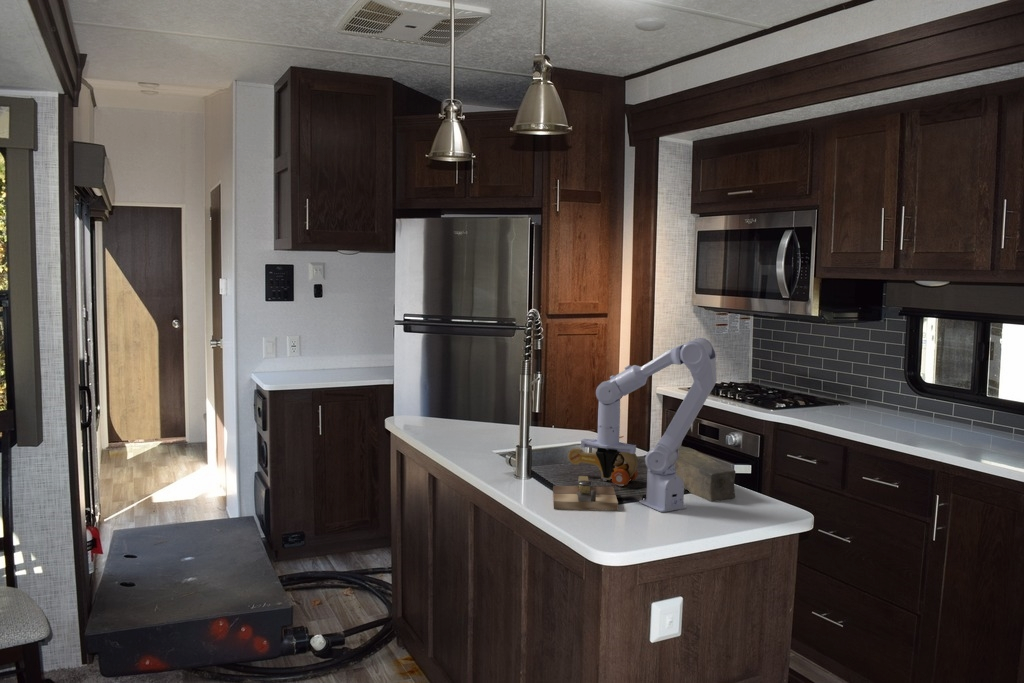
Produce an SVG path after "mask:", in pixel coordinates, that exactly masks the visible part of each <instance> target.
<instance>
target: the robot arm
mask: <svg viewBox="0 0 1024 683" xmlns="http://www.w3.org/2000/svg"><path fill="white" fill-rule="evenodd" d="M716 360H717V353H716V350H715V348H714V346H713V345H712V342H710V340H708V339H706V338H704V337H700V338H699V337H697V338H695V339H694V340H690V341H688V342H685V343H682V344H680V345H678V346H674V347H673V348H671V349H669V350H666V351H664V352H663V353H661V354H660V355H657V356H656V357H654V359H652V360H650V361H648V362H647V363H645V364H644V365H642V366H640V365H637V364H634V365H630V364H629V365H627V366H626V367H624V370H622V371H620V372H619V373H617V374H616V375H614V374H613V375H611V376H609V379H608V380H606V381H605V380H604V381H602V382H601V383H600V384H599V385H598V386H597V387H596V390H595V397H596V399H597V401H598V409H597V435H596V436H597V439H594V438H593V439H591V438H590V439H589V438H588V439H587V438H583V439H581V440H580V447H581V448H587V449H589V448H591V449H596V451H595V453H596V456H597V457H598V459H599V462H600V464H601V467H602V471H603V477H604V478H609V477H611V473H612V469H613V466H614V463H615V461H616V459H617V457H618V455H619V454H620V452H627V453H630V454H634V453H635V454H636V452H637V451H636V450H637V445H636V444H630V443H627V442H626V443H625V442H623V441H622V442H621V441H620V438H619V437H620V432H621V431H620V430H621V429H620V428H621V427H620V425H621V400H622V398H623V397H625V396H628V395H629V394H631V393H632V392H634V391H636V390H639V389H640V388H641V387H644V386H645V385H646V384H647V381H648V378H649V377H650V376H652V375H654V374H656V373H658V372H660V371H662V370H663V369H667V368H668V367H670V366H671V365H677V366H679V365H680V366H681V365H683V364H684V365H685V367H686V368H687V369H688V370H689V371H690V375H691V377H692V379H693V383H692V384H691V386H690V388H689V390H688V391H687V393H686V395H685V397H684V398H683V401H682V402H681V404H680V405H679V407H678V409H677V410H676V412H675V414H674V415H673V418H672V419H671V421H670V423H669V425H668V426H667V428H666V430H665V431H664V433H663V435H662V436H661V437H660V439H659V440H658V441H657V443H656V445H655V446H654V447H653V448H652V449H650V450H649V451H648V452H647V453H646V454H645V458H644V463H645V466H646V496H645V499H641V500H640V499H639V501H638V502H639V504H642V505H644V506H646V507H649V508H651V509H653V510H655V511H658V512H659V513H665V512H666V513H667V512H672V511H677V510H683V509H686V508H687V505H684V500H685V498H684V494H685V490H684V483H683V481H682V479H681V478H679V477H678V476H677V474H676V469H675V466H674V463H675V462H676V461H677V459H678V451H679V448H680V447H682V443H683V440H684V439H685V437H686V435H687V434H688V432H689V429H690V428H691V427H692V425H693V423H694V422H695V420H696V418H697V416H698V415H699V412H700V410H701V409H702V408H703V406H704V404H705V403H706V401H707V399H708V397H709V396H710V393H711V392H712V391H713V389H714V387H715V385H716V383H717V364H716V362H717V361H716Z"/></svg>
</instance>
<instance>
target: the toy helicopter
mask: <svg viewBox="0 0 1024 683" xmlns="http://www.w3.org/2000/svg"><path fill="white" fill-rule="evenodd" d="M622 438H624V435H622V436H621V435H620V436H619V439H622ZM567 458H568V461H569V463H571V464H572V465H573V466H580V465H581V464H585V465H586V464H587V465H592V466H596V467H597V468H598V470H599V471H600V472H601V475H600V476H601V479H602V478H604V477H603V471H602V467H601V464H600V462H599V459H598V457H597V456H596V452H595V453H594V452H585V451H584V450H583V449H581V448H579V447H575V448H571V449H570V450H569V451H568V454H567ZM638 461H639V460H638V456H637V454H636V452H635V453H634V454H630V453H627V452H620V453H619V455H618V457H617V459H616V461H615V463H614V466H613V469H612V473H611V477H609V478H606V479H612V480H611V482H612V484H614V483H617V484H624V485H626V484H627V485H628V484H629V483H630V482H629V480H630V479H631V480H633V481H635V480H636V479H637V477H638V470H637V469H638V466H639V462H638ZM634 479H635V480H634ZM627 485H626V486H627Z"/></svg>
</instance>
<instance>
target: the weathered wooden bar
mask: <svg viewBox="0 0 1024 683" xmlns="http://www.w3.org/2000/svg"><path fill="white" fill-rule="evenodd" d="M674 466H675V469H676V474H677V476H678V477H679V478H681V479H682V481H683V483H684V488H685V489H687V490H688V491H689V492H688V493H690V494H692V495H695V496H697V497H699V498H701V499H702V500H703V499H704V500H706V501H709V502H710V503H713V502H717V501H722V500H727V499H728V500H730V499H731V500H732V499H734V498H735V497H736V491H735V490H736V489H735V479H736V478H735V477H736V470H735V469H733V468H731V467H729V466H727V465H725V464H723V463H721V462H718V461H716V460H715V459H713V458H711V457H710V456H707V455H706V454H704V453H701V452H699V451H698V450H696V449H693V448H691V447H687V446H686V447H685V446H680V448H679V451H678V459H677V461H676V462H675V463H674Z"/></svg>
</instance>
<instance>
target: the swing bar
mask: <svg viewBox="0 0 1024 683" xmlns="http://www.w3.org/2000/svg"><path fill="white" fill-rule="evenodd" d="M578 486H579V489H580V493H589V492H590V486H592V482H591V481H590V480H589V476H587V475H585V476H584V475H579V476H578Z"/></svg>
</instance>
